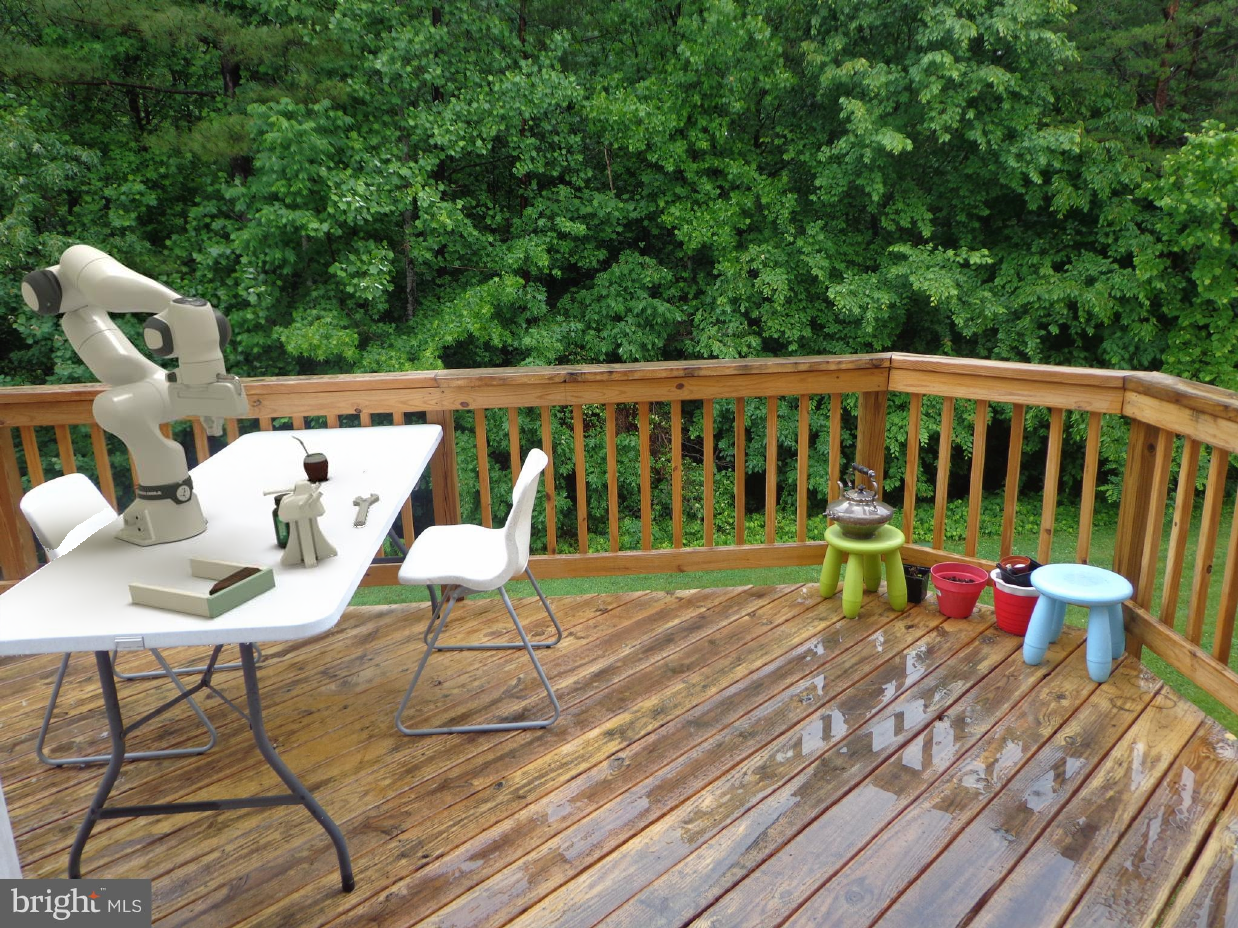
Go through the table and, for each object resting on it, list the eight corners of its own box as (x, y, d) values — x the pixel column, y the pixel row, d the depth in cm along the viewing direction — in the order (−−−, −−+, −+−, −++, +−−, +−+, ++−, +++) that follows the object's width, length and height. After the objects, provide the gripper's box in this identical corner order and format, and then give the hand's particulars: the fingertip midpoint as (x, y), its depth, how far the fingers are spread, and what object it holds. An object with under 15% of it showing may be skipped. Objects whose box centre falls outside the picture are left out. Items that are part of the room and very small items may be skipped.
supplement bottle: (286, 550, 202) (278, 502, 199) (272, 545, 206) (263, 497, 203) (313, 541, 207) (305, 494, 204) (298, 536, 211) (290, 489, 208)
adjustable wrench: (364, 529, 215) (363, 522, 215) (338, 531, 215) (337, 525, 214) (380, 498, 239) (380, 492, 239) (357, 500, 239) (356, 494, 238)
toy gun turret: (274, 556, 199) (261, 481, 194) (334, 545, 204) (323, 472, 199) (277, 574, 188) (263, 495, 183) (340, 562, 193) (328, 485, 188)
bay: (132, 602, 177) (128, 584, 176) (196, 573, 191) (193, 556, 190) (214, 617, 168) (210, 598, 167) (275, 585, 182) (272, 568, 181)
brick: (249, 586, 183) (245, 565, 182) (264, 587, 181) (260, 567, 180) (211, 607, 173) (206, 586, 172) (226, 609, 172) (222, 587, 171)
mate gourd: (334, 477, 262) (327, 429, 258) (323, 484, 254) (315, 435, 250) (310, 477, 262) (303, 429, 258) (299, 485, 255) (291, 436, 251)
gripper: (250, 371, 186) (260, 434, 190) (183, 370, 195) (194, 429, 198) (226, 376, 181) (238, 441, 184) (158, 375, 189) (170, 436, 193)
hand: (215, 435), depth 191 cm, fingers closed
